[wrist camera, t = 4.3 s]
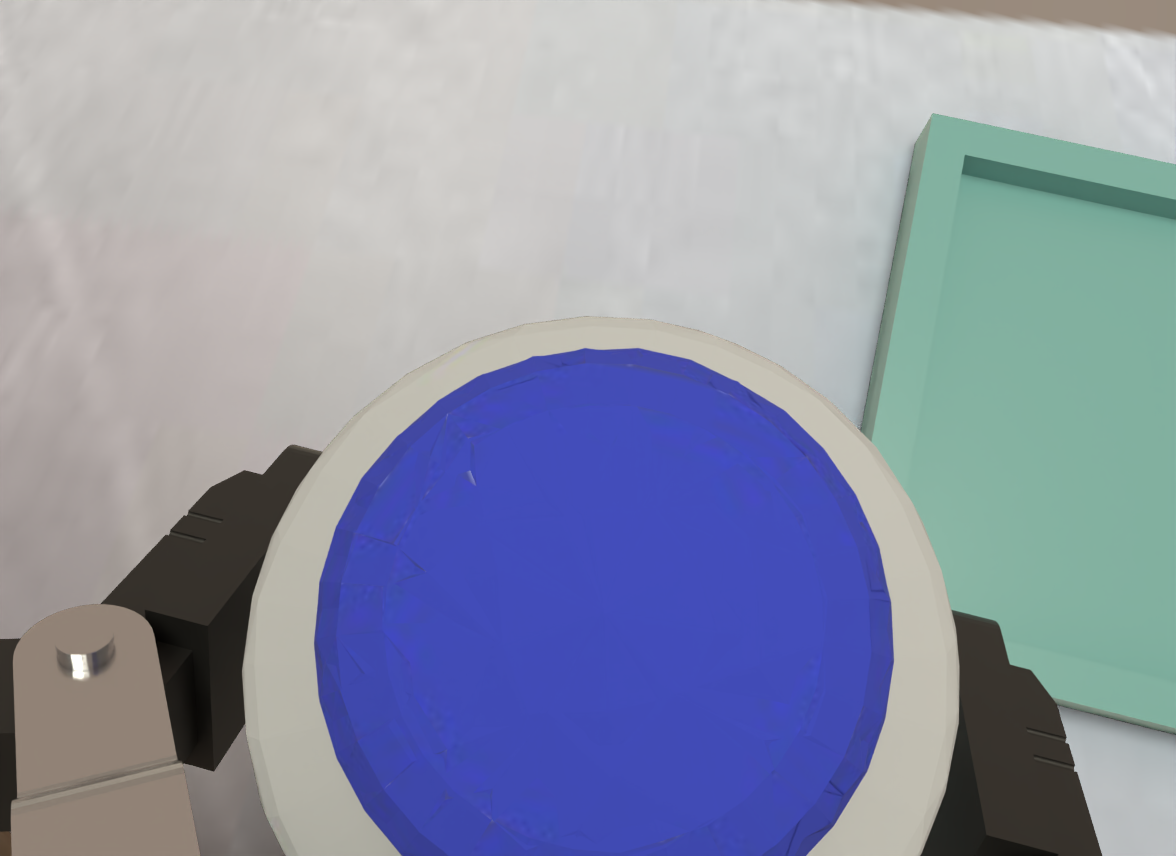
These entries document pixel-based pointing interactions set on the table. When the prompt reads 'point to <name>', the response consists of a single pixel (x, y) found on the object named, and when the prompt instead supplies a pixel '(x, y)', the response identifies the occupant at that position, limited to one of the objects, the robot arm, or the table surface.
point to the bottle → (601, 615)
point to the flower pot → (5, 844)
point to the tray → (1041, 402)
